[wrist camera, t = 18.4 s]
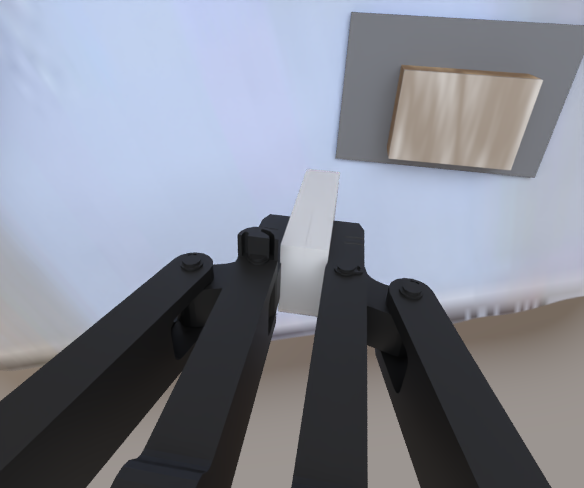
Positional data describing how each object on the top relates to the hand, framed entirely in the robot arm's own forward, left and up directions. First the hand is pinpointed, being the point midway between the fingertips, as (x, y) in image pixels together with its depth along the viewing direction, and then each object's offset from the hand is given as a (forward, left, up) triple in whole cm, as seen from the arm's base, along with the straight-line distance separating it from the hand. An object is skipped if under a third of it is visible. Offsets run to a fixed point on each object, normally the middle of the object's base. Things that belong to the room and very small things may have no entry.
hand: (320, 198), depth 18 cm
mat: (+9, +1, -20) cm, 22 cm away
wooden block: (+5, 0, -18) cm, 19 cm away
